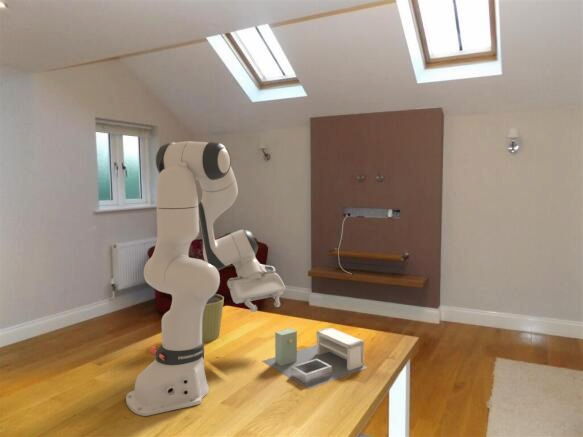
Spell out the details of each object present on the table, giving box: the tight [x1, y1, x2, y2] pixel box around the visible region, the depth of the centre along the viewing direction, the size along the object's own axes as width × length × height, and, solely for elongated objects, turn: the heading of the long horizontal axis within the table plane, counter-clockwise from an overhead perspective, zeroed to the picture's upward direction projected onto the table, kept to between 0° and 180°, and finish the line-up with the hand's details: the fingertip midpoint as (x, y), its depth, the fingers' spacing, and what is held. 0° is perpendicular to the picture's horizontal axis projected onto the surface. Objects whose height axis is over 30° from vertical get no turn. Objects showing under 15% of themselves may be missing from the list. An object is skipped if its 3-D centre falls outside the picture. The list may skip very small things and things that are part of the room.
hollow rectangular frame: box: [291, 359, 332, 385], centre depth 138 cm, size 10×7×3 cm
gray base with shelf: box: [262, 327, 369, 390], centre depth 146 cm, size 24×24×9 cm
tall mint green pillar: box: [274, 327, 298, 366], centre depth 148 cm, size 6×4×10 cm
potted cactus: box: [202, 259, 225, 343], centre depth 172 cm, size 15×15×30 cm
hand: (266, 308), depth 156 cm, fingers open, 8 cm apart
